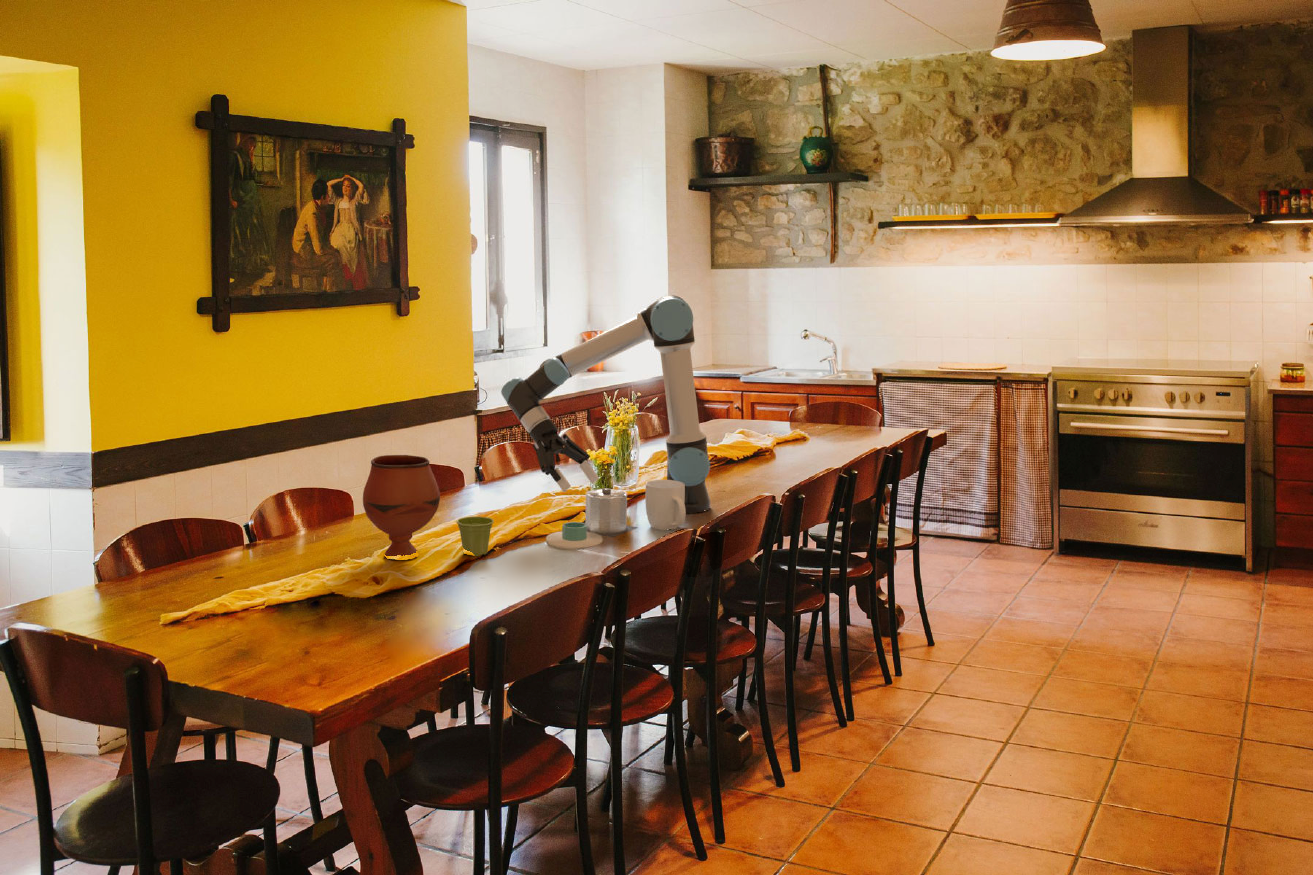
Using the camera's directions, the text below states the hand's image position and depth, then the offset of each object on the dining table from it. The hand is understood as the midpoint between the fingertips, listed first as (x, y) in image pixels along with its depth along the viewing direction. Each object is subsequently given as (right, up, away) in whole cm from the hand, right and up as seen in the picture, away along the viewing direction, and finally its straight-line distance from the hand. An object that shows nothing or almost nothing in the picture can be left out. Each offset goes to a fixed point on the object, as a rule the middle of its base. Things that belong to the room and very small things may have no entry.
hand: (581, 485), depth 323 cm
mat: (+7, -13, -2) cm, 14 cm away
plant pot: (-26, -17, -27) cm, 41 cm away
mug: (+24, -13, +1) cm, 27 cm away
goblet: (-44, -17, -31) cm, 56 cm away
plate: (-1, -15, -14) cm, 20 cm away
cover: (+7, -12, -2) cm, 14 cm away
